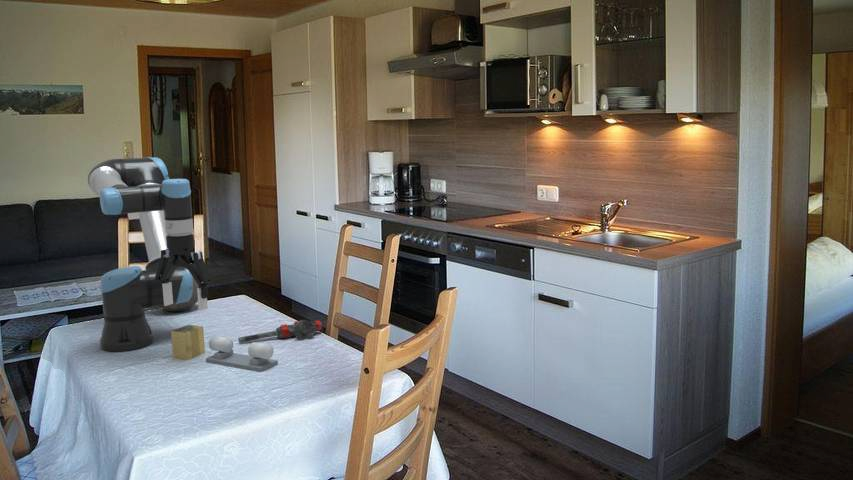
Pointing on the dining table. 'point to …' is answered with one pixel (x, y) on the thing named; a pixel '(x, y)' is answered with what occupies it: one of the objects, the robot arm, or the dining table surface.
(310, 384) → the dining table surface
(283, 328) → the valve
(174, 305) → the bowl
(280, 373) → the dining table surface
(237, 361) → the shaft bed
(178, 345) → the cardboard box
